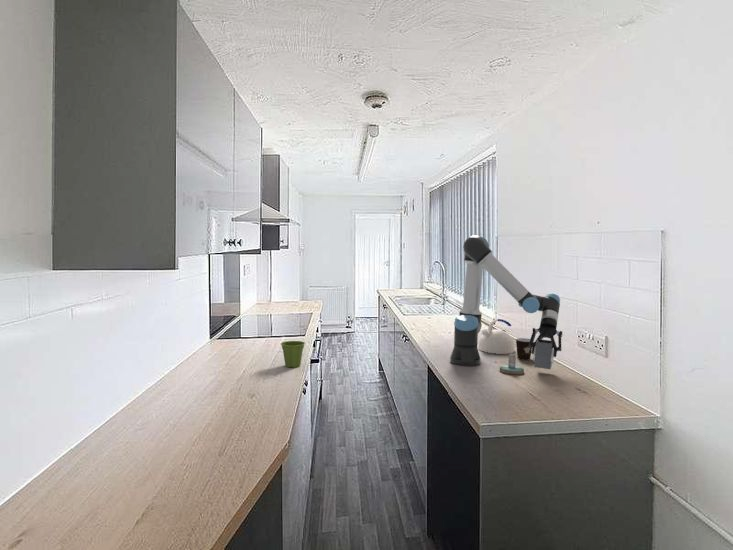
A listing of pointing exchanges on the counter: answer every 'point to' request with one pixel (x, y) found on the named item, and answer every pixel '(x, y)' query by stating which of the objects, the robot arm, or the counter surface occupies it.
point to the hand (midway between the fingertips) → (542, 360)
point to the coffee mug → (523, 348)
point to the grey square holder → (543, 354)
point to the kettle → (496, 340)
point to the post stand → (511, 367)
